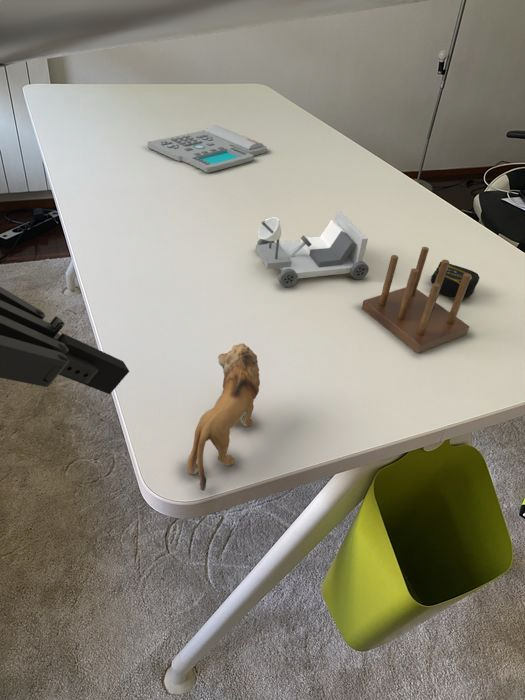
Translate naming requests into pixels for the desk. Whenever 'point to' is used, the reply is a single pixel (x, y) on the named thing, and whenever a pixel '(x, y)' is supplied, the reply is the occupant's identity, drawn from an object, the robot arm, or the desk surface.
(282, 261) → the toy car
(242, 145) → the office telephone
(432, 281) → the tape measure
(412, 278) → the walnut rack
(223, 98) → the desk surface
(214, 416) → the lion figurine
